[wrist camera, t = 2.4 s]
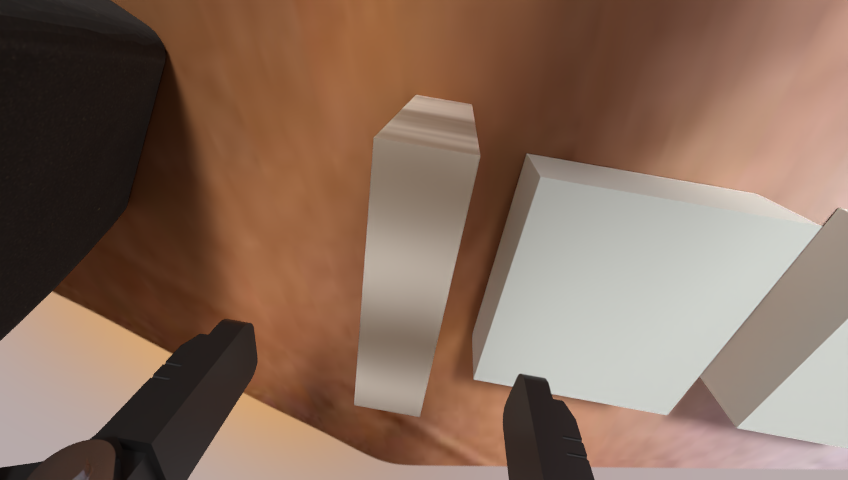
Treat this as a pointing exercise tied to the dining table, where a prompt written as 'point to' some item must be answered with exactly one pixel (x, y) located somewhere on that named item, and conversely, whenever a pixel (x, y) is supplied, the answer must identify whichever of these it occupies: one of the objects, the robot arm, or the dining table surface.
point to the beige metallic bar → (412, 247)
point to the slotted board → (669, 299)
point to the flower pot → (66, 136)
